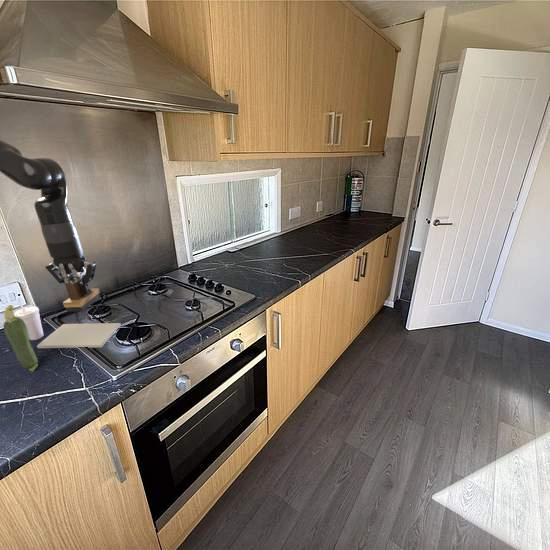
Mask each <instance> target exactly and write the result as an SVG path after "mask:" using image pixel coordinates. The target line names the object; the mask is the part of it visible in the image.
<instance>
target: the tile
mask: <svg viewBox="0 0 550 550" xmlns="http://www.w3.org/2000/svg"><path fill="white" fill-rule="evenodd" d="M121 326H122V323H121V322H110V323H109V322H107V323H106V322H104V323H103V322H102V323H100V322H99V323H97V322H96V323H95V322H94V323H63V324H62V325H60V326H59V327H58V328H56V329H55V330H54V331H52V332H51V333H50V334H49V335H48V336H46V337H45V338H44V339H43V340H42V341H41V342H39V343H38V344H37V345H36V348H37V349H78V348H77V347H88V348H89V349H91V348H95V349H97V348H103V347H104V345H105V344H106V343H107V342H108V341H109V340H110V339H111V338H112V337H113V335H114V334H116V332H117V331H118V330H119V329H120V328H121ZM118 328H119V329H118ZM117 329H118V330H117ZM116 330H117V331H116ZM88 348H87V349H88Z"/></svg>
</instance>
